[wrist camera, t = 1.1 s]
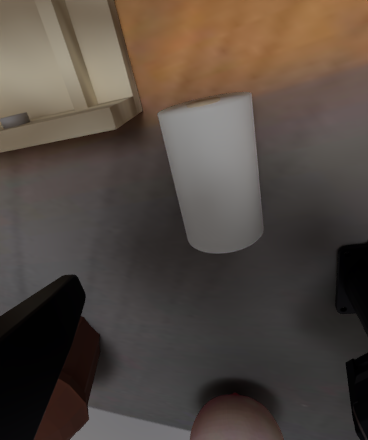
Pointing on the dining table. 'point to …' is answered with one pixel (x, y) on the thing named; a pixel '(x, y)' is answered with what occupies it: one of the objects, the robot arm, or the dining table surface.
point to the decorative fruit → (235, 420)
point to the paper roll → (215, 170)
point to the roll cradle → (62, 71)
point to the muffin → (72, 387)
